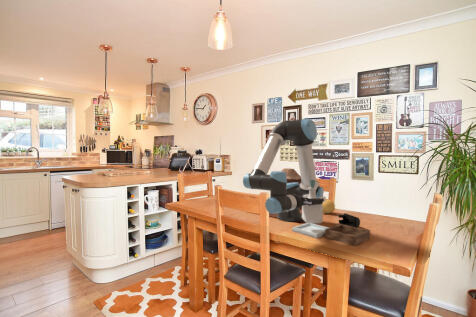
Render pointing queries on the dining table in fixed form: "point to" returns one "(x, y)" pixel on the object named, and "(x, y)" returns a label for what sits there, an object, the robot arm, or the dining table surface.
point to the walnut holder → (336, 234)
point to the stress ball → (328, 206)
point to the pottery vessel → (292, 176)
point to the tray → (310, 230)
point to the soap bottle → (312, 207)
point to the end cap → (349, 220)
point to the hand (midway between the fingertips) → (317, 197)
